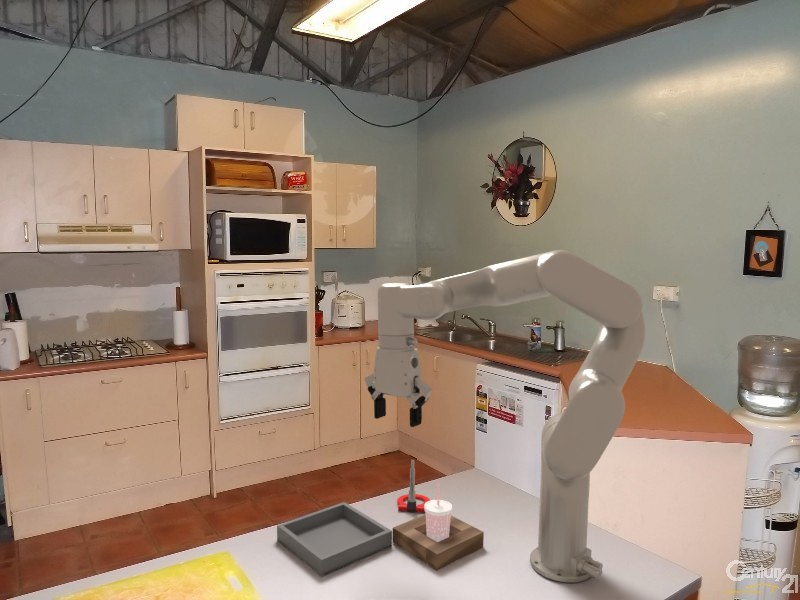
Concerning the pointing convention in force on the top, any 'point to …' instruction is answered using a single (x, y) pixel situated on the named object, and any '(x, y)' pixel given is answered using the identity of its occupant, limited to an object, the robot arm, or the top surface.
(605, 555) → the top surface
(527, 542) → the top surface
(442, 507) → the beverage cup
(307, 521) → the tray
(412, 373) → the robot arm
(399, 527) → the square wooden frame block
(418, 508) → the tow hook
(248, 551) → the top surface
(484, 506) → the top surface
